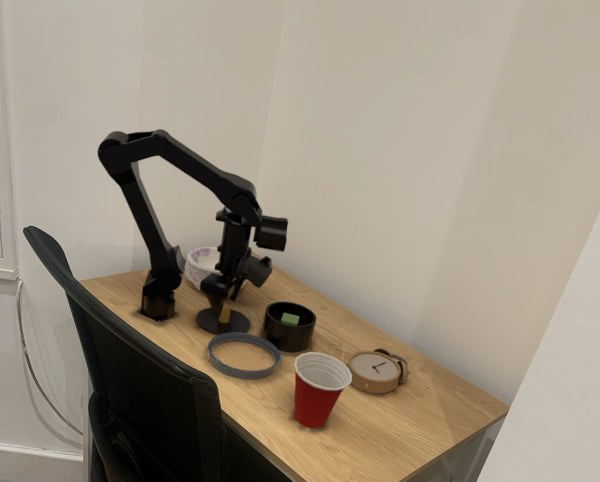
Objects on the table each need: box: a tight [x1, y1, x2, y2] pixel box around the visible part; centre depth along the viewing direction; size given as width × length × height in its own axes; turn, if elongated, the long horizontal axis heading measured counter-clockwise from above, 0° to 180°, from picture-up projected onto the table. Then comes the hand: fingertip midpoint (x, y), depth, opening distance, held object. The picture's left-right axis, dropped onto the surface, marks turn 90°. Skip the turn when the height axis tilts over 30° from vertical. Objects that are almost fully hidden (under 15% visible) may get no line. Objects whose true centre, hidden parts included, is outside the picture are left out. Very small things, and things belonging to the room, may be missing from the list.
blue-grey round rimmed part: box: [206, 332, 282, 381], centre depth 133 cm, size 15×15×2 cm
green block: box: [281, 313, 299, 326], centre depth 142 cm, size 4×4×6 cm
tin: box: [260, 301, 317, 354], centre depth 142 cm, size 11×11×7 cm
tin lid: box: [195, 303, 252, 336], centre depth 143 cm, size 12×12×5 cm
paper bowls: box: [184, 246, 248, 294], centre depth 157 cm, size 15×15×8 cm
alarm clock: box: [347, 347, 411, 394], centre depth 138 cm, size 11×5×15 cm
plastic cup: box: [293, 351, 352, 429], centre depth 118 cm, size 11×11×12 cm
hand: (225, 308), depth 142 cm, fingers open, 9 cm apart
